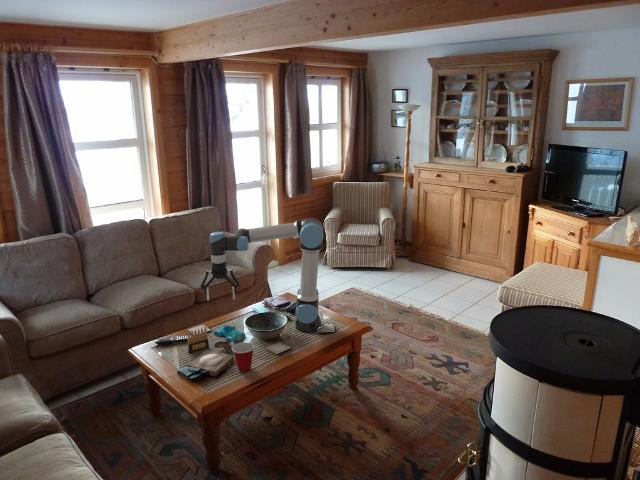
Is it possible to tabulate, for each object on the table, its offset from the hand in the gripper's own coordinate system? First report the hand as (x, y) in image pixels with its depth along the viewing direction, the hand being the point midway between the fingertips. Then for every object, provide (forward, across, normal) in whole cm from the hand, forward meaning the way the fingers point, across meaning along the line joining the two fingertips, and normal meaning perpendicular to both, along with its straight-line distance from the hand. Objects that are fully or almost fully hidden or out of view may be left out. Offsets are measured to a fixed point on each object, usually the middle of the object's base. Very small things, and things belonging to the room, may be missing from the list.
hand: (221, 299), depth 256 cm
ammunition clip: (+23, +12, +12) cm, 29 cm away
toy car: (+23, -3, -2) cm, 23 cm away
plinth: (+23, +4, +28) cm, 36 cm away
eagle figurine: (+23, -2, +16) cm, 28 cm away
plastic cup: (+23, -12, +34) cm, 43 cm away
